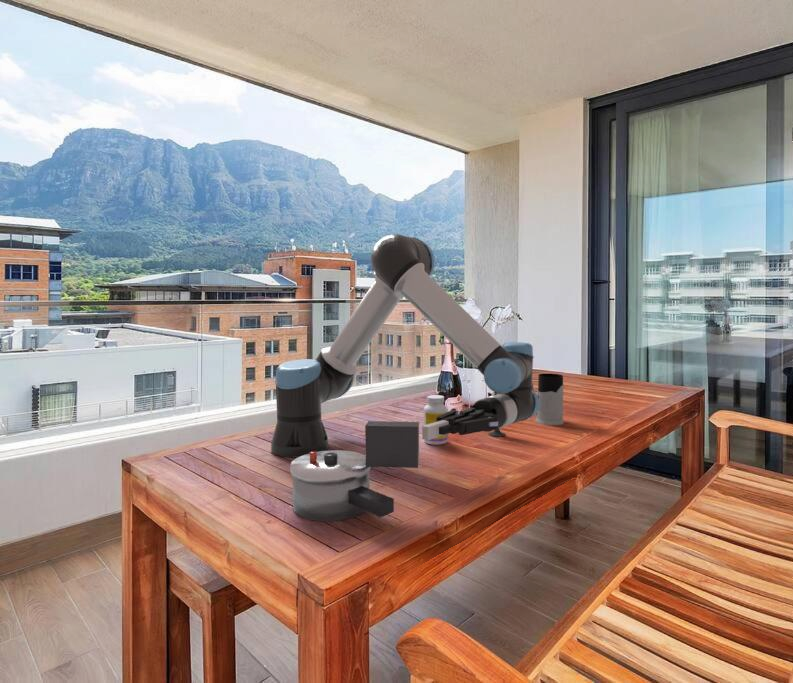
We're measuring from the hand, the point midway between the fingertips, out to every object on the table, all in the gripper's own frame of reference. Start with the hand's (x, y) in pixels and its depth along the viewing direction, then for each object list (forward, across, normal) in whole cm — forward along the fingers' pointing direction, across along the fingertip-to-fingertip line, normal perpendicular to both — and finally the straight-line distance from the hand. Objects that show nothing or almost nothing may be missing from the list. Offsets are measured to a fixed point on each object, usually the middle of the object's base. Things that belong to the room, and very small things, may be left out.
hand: (425, 433), depth 102 cm
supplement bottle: (-31, +24, -14) cm, 41 cm away
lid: (+12, +7, -6) cm, 16 cm away
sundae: (-49, +16, -14) cm, 53 cm away
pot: (+15, +8, -13) cm, 22 cm away
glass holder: (-72, +15, -14) cm, 75 cm away
